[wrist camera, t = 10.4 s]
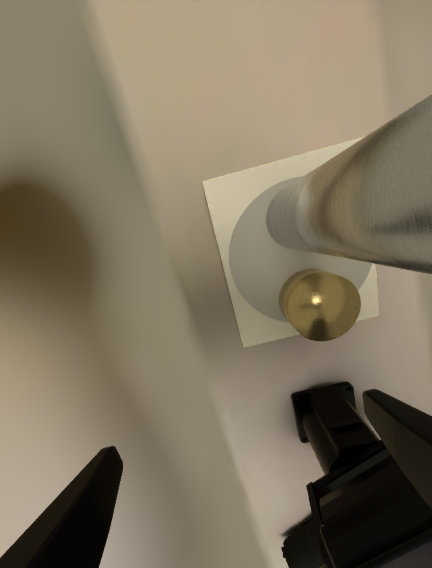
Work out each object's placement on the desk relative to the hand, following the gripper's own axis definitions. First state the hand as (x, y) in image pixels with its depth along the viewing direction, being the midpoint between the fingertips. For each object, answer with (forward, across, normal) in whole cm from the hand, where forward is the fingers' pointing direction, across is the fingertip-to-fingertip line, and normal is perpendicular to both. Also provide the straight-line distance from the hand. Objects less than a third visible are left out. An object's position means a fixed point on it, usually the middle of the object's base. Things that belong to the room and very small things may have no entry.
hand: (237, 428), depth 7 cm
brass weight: (+10, -7, 0) cm, 12 cm away
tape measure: (+13, -4, +34) cm, 37 cm away
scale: (+13, -7, -4) cm, 15 cm away
